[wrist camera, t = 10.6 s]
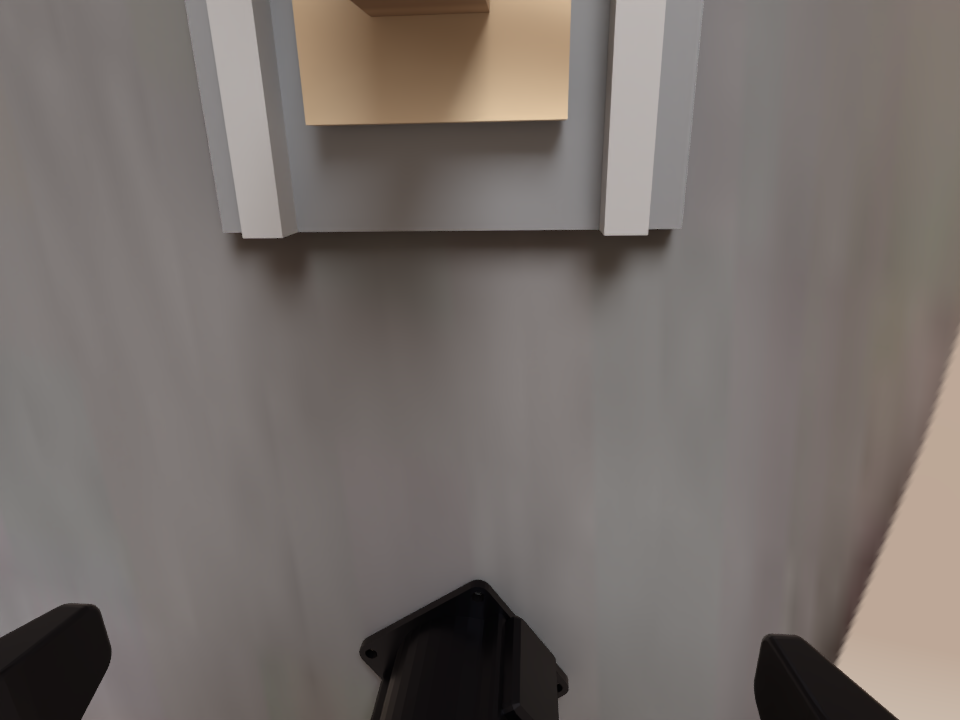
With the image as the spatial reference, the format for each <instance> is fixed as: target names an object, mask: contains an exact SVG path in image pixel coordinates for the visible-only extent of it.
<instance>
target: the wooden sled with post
mask: <svg viewBox="0 0 960 720" xmlns="http://www.w3.org/2000/svg"><path fill="white" fill-rule="evenodd" d="M292 5H293V14H294V23H295V32H296V41H297V50H298V59H299V68H300V77H301V86H302V95H303V104H304V113H305V122H306V125H311V126H343V125H387V124H431V123H475V122H519V121H563V120H567V119H568V90H569V56H570V22H571V0H292Z"/></svg>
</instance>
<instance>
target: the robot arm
mask: <svg viewBox="0 0 960 720" xmlns="http://www.w3.org/2000/svg"><path fill="white" fill-rule="evenodd" d="M475 592H481V593H482V595H476V594H475ZM370 649H373V650H375V651H372V650H370ZM359 653H360V656H361V658H362V659H363V660H364V661H365V662H366V663H367V664H368V665H369V666H370V667H371V668H372V669H373V670H374V672H375V673H376V674H377V675H378V676H379V677H380V678H381V679H382V681H381V684H380V688H379V692H378V695H377V699H376V703H375V706H374V710H373V714H372V717H371V720H559V715H558V698H559V697H561V696H563V695H565V694H566V693H567V692H568V678H567V676H566V674H565V673H564V672H563V671H562V670H561V668H560V667H559V666H558V665H557V664H556V659H555V657H554V655H553V654H552V653H551V652H550V651H549V649H548V648H547V647H546V646H545V645H544V644H543V642H542V641H541V640H540V639H539V638H538V637H537V635H536V634H535V633H534V632H533V631H532V629H531V628H530V627H529V626H528V625H527V624H526V622H525V621H524V620H523V619H522V618H520V617H518V616H515V614H514V613H513V612H512V611H511V610H510V609H509V607H508V606H507V605H506V604H505V603H504V601H503V600H502V599H501V598H500V597H499V596H498V594H497V593H496V592H495V591H494V590H493V589H492V587H491V586H490V585H489V584H488V583H487V582H485V581H482V580H474V581H471V582H469V583H467V584H466V585H464V586H462V587H460V588H458V589H456V590H454V591H453V592H451V593H449V594H447V595H445V596H443V597H442V598H440V599H438V600H436V601H434V602H432V603H430V604H429V605H427V606H425V607H423V608H421V609H419V610H417V611H416V612H414V613H412V614H410V615H408V616H406V617H405V618H403V619H401V620H399V621H397V622H395V623H393V624H392V625H390V626H388V627H386V628H384V629H382V630H381V631H379V632H377V633H375V634H373V635H371V636H369V637H368V638H366V639H365V640H364V641H363V643H362V645H361V648H360V651H359ZM110 660H111V645H110V641H109V638H108V635H107V631H106V628H105V625H104V621H103V618H102V615H101V612H100V610H99V609H98V608H97V607H96V606H95V605H92V604H79V603H68V604H63V605H61V606H59V607H57V608H55V609H53V610H51V611H49V612H47V613H45V614H44V615H42V616H40V617H38V618H36V619H34V620H32V621H31V622H29V623H27V624H25V625H23V626H21V627H19V628H18V629H16V630H14V631H12V632H10V633H8V634H6V635H4V636H3V637H1V638H0V720H81V719H82V717H83V715H84V713H85V711H86V709H87V707H88V705H89V703H90V701H91V700H92V698H93V696H94V694H95V692H96V690H97V688H98V686H99V684H100V682H101V680H102V678H103V677H104V675H105V673H106V671H107V669H108V666H109V663H110ZM557 683H558V684H557ZM754 694H755V700H756V704H757V708H758V712H759V716H760V719H761V720H899V719H897V718H896V717H895V716H894V715H893V714H891V713H890V712H889V711H888V710H887V709H886V708H884V707H883V706H882V705H881V704H880V703H878V702H877V701H876V700H875V699H874V698H873V697H871V696H870V695H869V694H868V693H867V692H866V691H864V690H863V689H862V688H861V687H859V686H858V685H857V684H856V683H855V682H854V681H853V680H851V679H850V678H849V677H848V676H847V675H845V674H844V673H843V672H842V671H841V670H840V669H838V668H837V667H836V666H835V665H834V664H832V663H831V662H830V661H829V660H828V659H827V658H825V657H824V656H823V655H822V654H821V653H820V652H818V651H817V650H816V649H815V648H814V647H812V646H811V645H810V644H809V643H808V642H807V641H805V640H804V639H803V638H801V637H799V636H796V635H786V634H768V635H766V636H764V638H763V639H762V642H761V647H760V652H759V658H758V663H757V668H756V674H755V679H754Z"/></svg>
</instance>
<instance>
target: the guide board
mask: <svg viewBox="0 0 960 720" xmlns="http://www.w3.org/2000/svg"><path fill="white" fill-rule="evenodd" d="M185 6H186V12H187V18H188V24H189V30H190V36H191V42H192V48H193V54H194V60H195V66H196V73H197V79H198V85H199V91H200V97H201V103H202V109H203V115H204V121H205V127H206V133H207V139H208V145H209V151H210V157H211V163H212V169H213V175H214V181H215V187H216V193H217V199H218V206H219V212H220V218H221V224H222V230H223V233H242V236H243V238H284V237H287V236H289V235H292V234H294V233H297V232H371V231H489V230H600V231H601V232H602V234H603V235H604V236H612V235H648V229H682V223H683V213H684V203H685V192H686V182H687V172H688V161H689V151H690V140H691V130H692V120H693V109H694V99H695V89H696V78H697V68H698V58H699V47H700V37H701V26H702V16H703V6H704V0H571V22H570V56H569V90H568V119H567V120H563V121H519V122H475V123H431V124H387V125H343V126H311V125H306V122H305V113H304V104H303V95H302V86H301V77H300V68H299V59H298V50H297V41H296V32H295V23H294V14H293V5H292V0H185Z"/></svg>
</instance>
